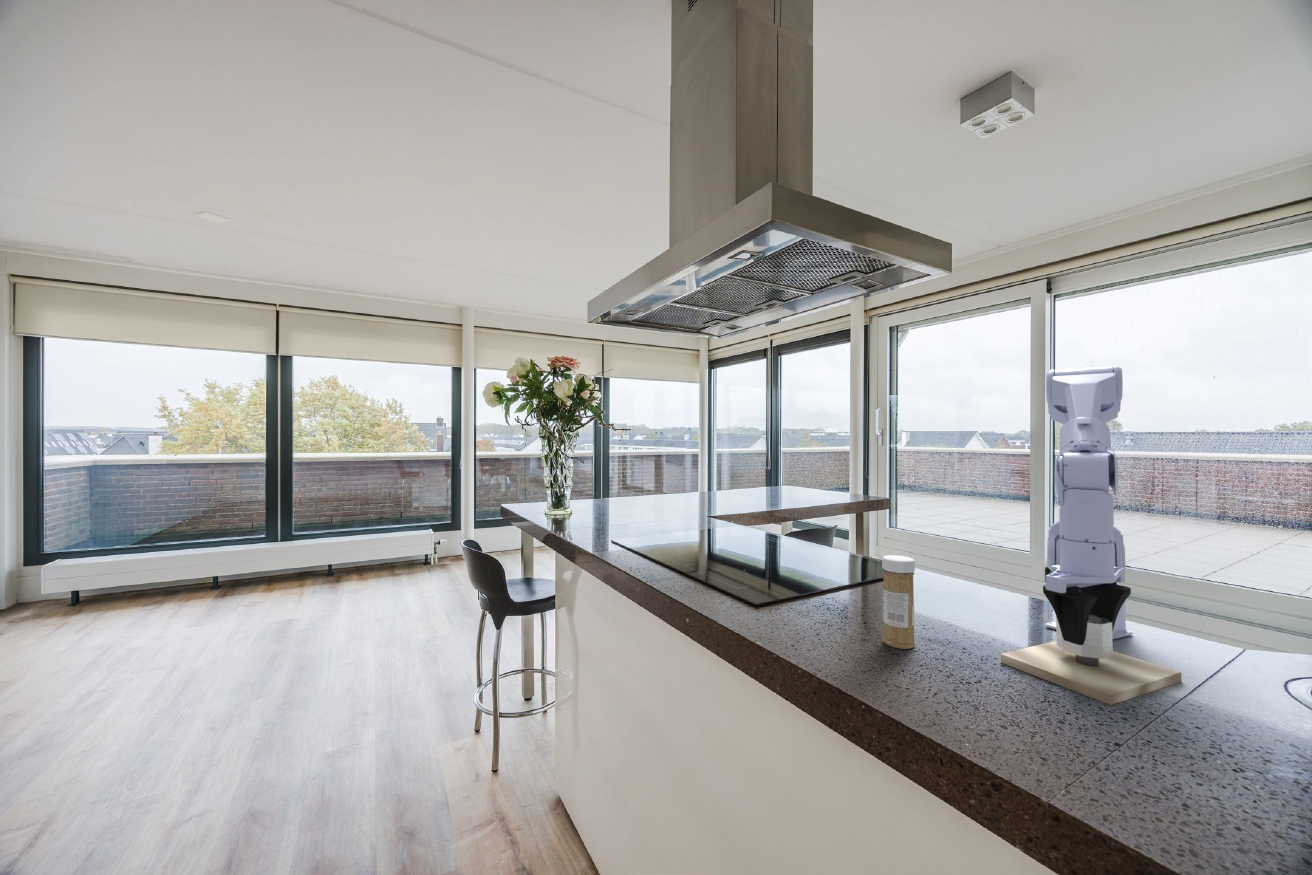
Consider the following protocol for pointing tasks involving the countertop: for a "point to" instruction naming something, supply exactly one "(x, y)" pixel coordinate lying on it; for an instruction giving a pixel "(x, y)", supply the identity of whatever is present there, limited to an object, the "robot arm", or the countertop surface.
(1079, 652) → the steel ring
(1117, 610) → the robot arm
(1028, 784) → the countertop surface
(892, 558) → the sprinkles bottle
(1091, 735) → the countertop surface
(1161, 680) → the post board
